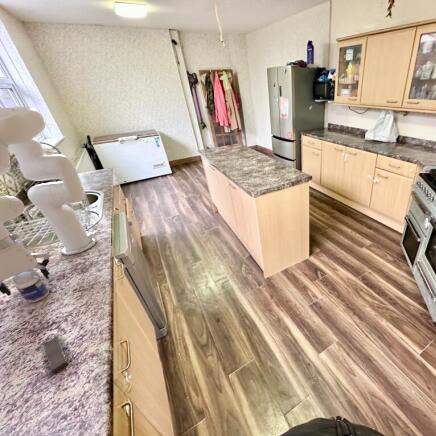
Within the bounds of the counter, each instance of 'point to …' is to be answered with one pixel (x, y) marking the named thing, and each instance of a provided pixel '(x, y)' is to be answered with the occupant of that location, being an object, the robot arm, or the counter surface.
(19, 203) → the robot arm
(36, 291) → the pill bottle
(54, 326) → the counter surface
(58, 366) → the dark grey flat bar
